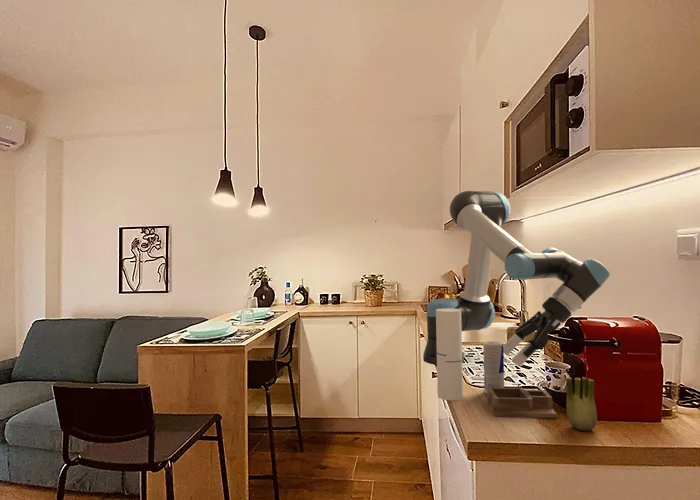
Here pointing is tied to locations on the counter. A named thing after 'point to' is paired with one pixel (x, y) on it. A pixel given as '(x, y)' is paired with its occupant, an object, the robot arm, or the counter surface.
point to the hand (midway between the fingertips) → (509, 357)
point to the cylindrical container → (449, 354)
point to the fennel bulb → (581, 404)
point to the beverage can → (493, 365)
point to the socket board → (520, 403)
